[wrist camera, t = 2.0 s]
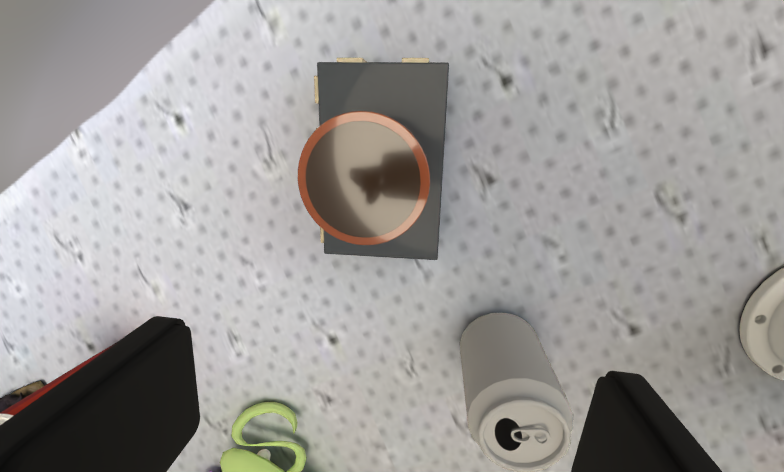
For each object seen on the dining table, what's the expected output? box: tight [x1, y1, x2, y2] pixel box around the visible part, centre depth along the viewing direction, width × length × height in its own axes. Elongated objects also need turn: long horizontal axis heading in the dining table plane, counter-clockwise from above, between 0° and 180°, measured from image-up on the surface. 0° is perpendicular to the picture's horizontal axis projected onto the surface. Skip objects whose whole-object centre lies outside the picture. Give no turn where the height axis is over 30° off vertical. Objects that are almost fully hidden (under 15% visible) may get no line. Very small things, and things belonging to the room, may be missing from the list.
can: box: [460, 313, 573, 472], centre depth 31 cm, size 8×8×12 cm
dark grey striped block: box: [314, 58, 449, 260], centre depth 30 cm, size 9×14×6 cm, turn 179°
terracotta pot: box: [298, 111, 430, 245], centre depth 24 cm, size 7×7×7 cm
